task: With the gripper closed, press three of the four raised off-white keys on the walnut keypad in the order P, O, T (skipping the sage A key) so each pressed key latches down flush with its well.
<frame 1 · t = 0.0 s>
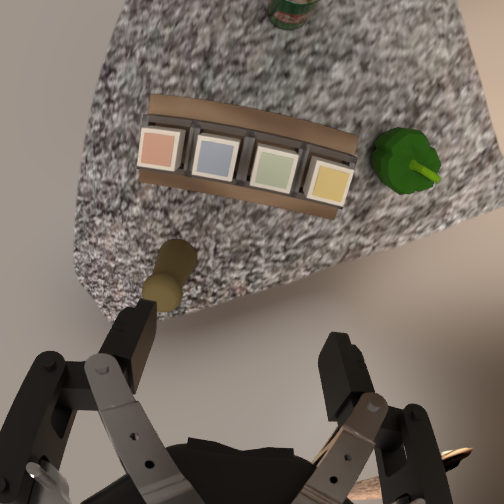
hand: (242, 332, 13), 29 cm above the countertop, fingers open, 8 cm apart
key A: (273, 167, 33), point 6 cm above the countertop, slide at 0.0 cm
keypad: (246, 153, 38), on the countertop
key P: (327, 180, 33), point 6 cm above the countertop, slide at 0.0 cm
bell pepper: (388, 154, 38), on the countertop
soda can: (287, 14, 29), on the countertop
key O: (161, 147, 32), point 6 cm above the countertop, slide at 0.0 cm
cork: (178, 256, 45), on the countertop
key T: (216, 156, 32), point 6 cm above the countertop, slide at 0.0 cm
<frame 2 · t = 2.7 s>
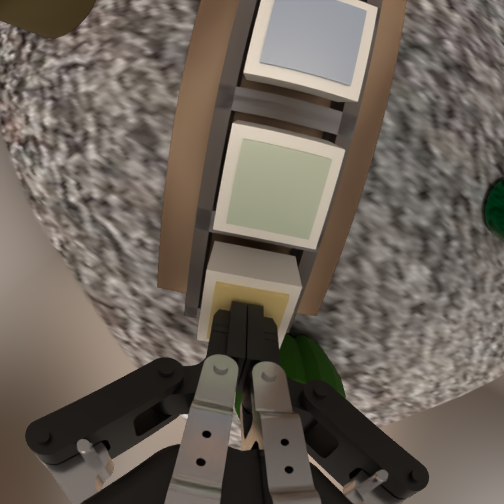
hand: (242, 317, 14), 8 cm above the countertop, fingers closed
key A: (275, 181, 13), point 6 cm above the countertop, slide at 0.0 cm
keypad: (281, 108, 17), on the countertop
key P: (246, 299, 16), point 6 cm above the countertop, slide at 0.1 cm, touching gripper
bell pepper: (283, 350, 26), on the countertop
soda can: (499, 204, 19), on the countertop
cork: (65, 3, 13), on the countertop
key T: (308, 41, 10), point 6 cm above the countertop, slide at 0.0 cm
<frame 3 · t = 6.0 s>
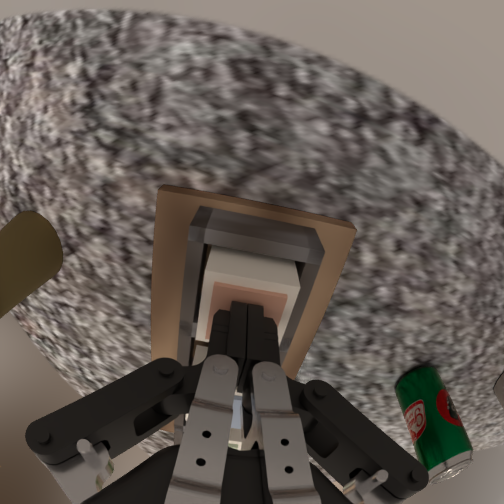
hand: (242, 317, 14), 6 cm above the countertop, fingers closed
key A: (213, 435, 20), point 6 cm above the countertop, slide at 0.0 cm
keypad: (224, 357, 24), on the countertop
soda can: (414, 377, 27), on the countertop
key O: (245, 300, 16), point 5 cm above the countertop, slide at 1.4 cm, touching gripper
cork: (36, 244, 20), on the countertop
key T: (224, 392, 17), point 6 cm above the countertop, slide at 0.0 cm
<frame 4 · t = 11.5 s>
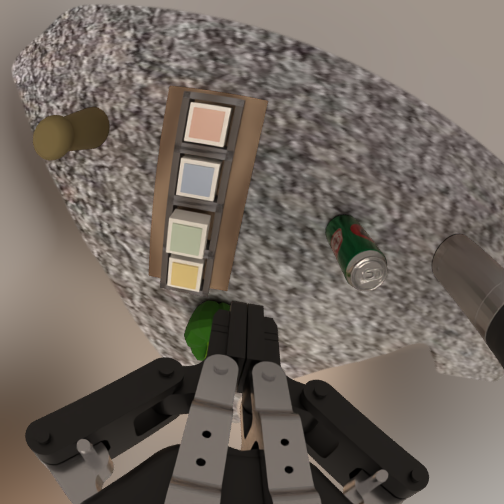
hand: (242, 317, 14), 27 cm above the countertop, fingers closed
key A: (188, 234, 35), point 6 cm above the countertop, slide at 0.0 cm
keypad: (200, 193, 39), on the countertop
key P: (186, 269, 40), point 4 cm above the countertop, slide at 2.3 cm
bell pepper: (216, 312, 48), on the countertop
soda can: (341, 229, 42), on the countertop
key O: (208, 123, 32), point 4 cm above the countertop, slide at 2.3 cm
cork: (91, 127, 35), on the countertop
key T: (199, 177, 34), point 4 cm above the countertop, slide at 2.3 cm
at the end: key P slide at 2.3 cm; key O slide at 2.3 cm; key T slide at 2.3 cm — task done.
